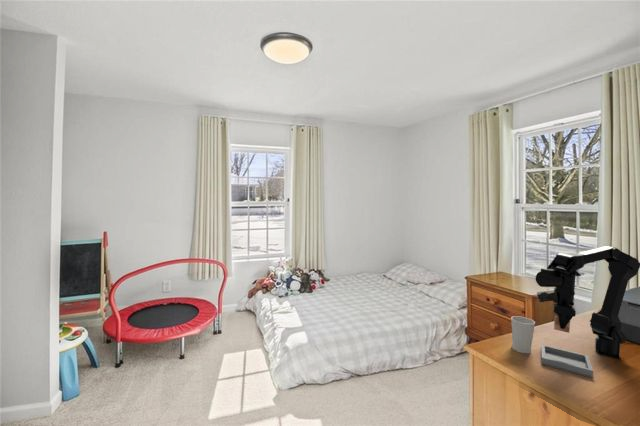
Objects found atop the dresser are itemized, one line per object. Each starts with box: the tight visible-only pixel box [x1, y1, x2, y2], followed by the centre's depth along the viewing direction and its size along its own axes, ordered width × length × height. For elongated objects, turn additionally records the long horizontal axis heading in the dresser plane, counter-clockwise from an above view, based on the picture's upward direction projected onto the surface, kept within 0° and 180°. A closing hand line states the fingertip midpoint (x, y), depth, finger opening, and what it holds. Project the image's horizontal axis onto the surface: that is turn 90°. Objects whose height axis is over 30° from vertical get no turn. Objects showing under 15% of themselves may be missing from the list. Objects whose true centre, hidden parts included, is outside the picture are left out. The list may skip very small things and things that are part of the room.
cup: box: [510, 315, 536, 354], centre depth 122 cm, size 8×8×12 cm
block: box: [553, 313, 571, 334], centre depth 117 cm, size 4×4×5 cm
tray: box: [540, 343, 594, 379], centre depth 112 cm, size 14×13×2 cm
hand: (561, 326), depth 117 cm, fingers closed on block, 4 cm apart
